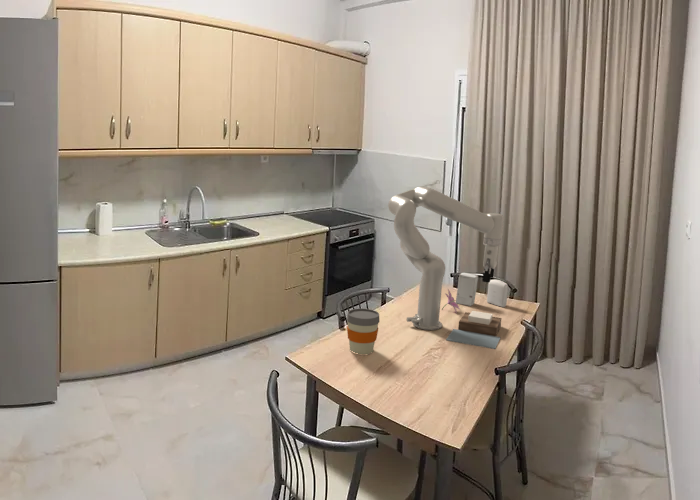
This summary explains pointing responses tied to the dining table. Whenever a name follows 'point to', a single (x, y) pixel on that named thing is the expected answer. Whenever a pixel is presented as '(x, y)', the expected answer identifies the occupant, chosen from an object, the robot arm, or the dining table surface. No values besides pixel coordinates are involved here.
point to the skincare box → (466, 289)
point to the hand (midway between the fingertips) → (487, 279)
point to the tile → (480, 317)
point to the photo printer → (497, 293)
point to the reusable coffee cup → (362, 330)
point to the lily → (451, 301)
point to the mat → (473, 338)
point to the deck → (480, 326)
